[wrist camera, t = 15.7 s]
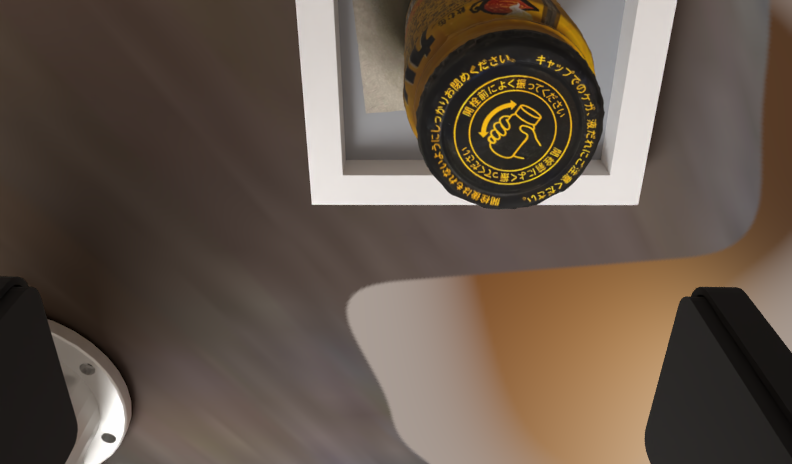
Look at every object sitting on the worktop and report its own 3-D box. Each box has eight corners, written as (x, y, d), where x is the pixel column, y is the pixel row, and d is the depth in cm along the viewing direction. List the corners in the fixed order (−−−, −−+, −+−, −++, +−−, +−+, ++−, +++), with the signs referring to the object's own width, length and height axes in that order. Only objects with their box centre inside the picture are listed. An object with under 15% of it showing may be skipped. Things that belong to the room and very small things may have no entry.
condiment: (553, 96, 31) (626, 231, 20) (365, 112, 31) (343, 251, 21) (557, -81, 27) (649, -26, 17) (345, -60, 28) (305, 6, 17)
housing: (623, 180, 34) (638, 204, 31) (318, 181, 34) (311, 204, 32) (691, -206, 26) (717, -210, 23) (290, -202, 26) (279, -205, 24)
